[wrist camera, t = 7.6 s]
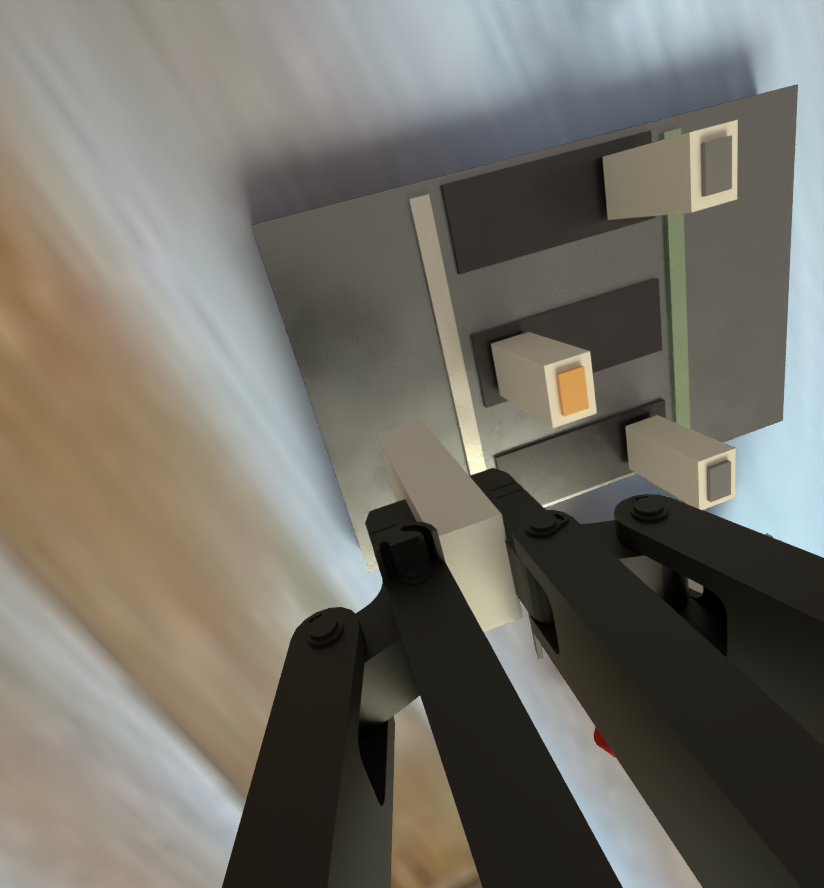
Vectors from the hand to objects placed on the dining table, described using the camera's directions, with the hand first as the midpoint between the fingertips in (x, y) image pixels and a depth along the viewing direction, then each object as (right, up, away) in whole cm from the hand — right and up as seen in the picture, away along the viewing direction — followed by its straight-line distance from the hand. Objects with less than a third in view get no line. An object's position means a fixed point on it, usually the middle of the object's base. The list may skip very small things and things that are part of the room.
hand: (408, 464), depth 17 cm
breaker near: (+9, +11, +5) cm, 15 cm away
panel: (+7, +6, +9) cm, 13 cm away
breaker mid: (+5, +4, +6) cm, 9 cm away
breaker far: (+12, +1, +10) cm, 15 cm away
